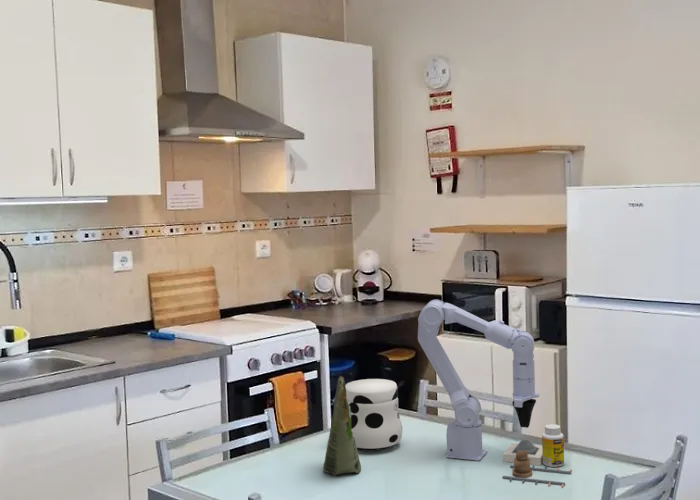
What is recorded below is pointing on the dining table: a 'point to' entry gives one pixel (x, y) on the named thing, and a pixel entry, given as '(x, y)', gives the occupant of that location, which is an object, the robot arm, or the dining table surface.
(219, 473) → the dining table surface
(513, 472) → the pawn
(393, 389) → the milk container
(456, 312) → the robot arm
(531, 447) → the dome
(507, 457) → the housing
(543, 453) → the supplement bottle
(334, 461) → the green tall cone
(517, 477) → the track
